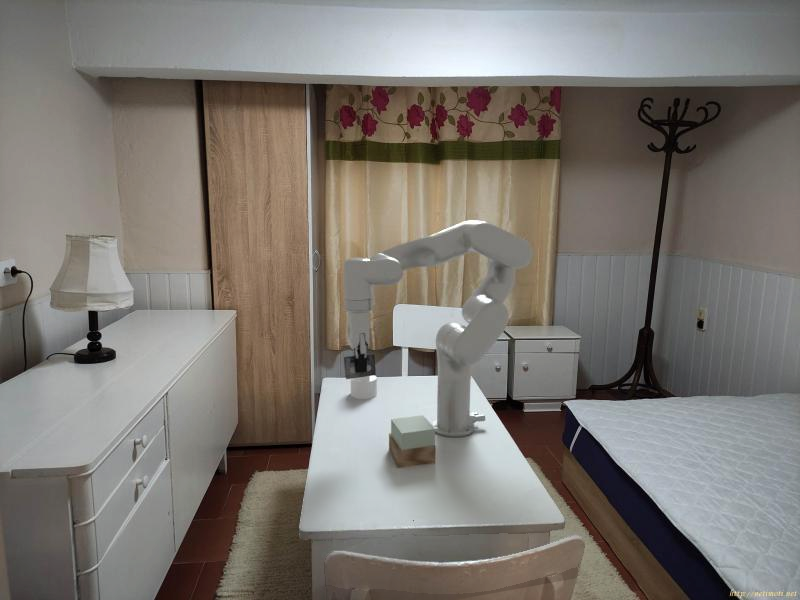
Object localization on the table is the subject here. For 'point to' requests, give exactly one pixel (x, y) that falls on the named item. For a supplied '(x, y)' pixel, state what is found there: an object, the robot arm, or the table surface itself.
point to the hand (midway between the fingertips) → (360, 370)
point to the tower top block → (412, 432)
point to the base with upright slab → (364, 387)
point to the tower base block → (411, 454)
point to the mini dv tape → (350, 367)
